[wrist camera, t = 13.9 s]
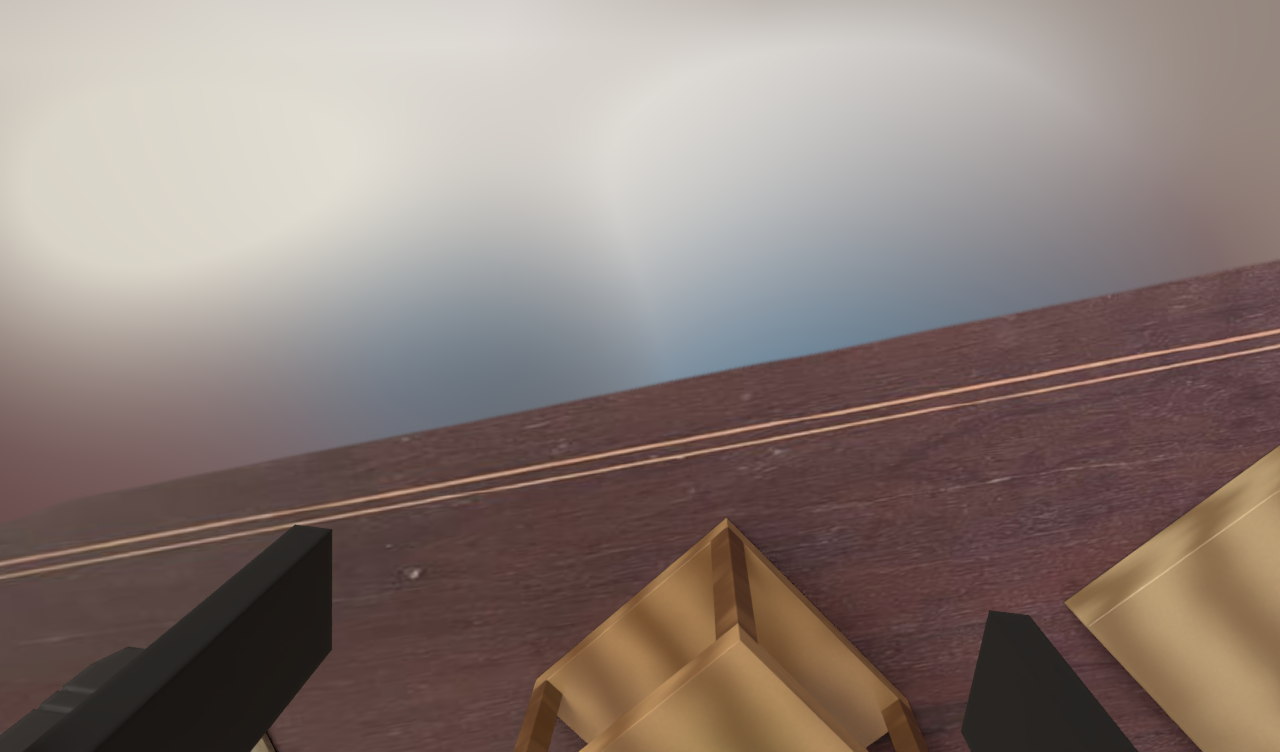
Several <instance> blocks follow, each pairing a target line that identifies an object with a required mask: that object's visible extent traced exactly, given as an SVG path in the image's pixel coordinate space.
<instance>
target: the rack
mask: <svg viewBox="0 0 1280 752" xmlns="http://www.w3.org/2000/svg"><path fill="white" fill-rule="evenodd" d="M557 716H558V717H559V718H560V719H562V720H563V721H564V722H565V723H566V724H567V725H568V726H569V727H570V728H571V729H572V730H573V731H575V732H576V733H577V734H578V735H579V736H580V737H581V738H582V739H583V740H584V741H585V742H586V743H588V745H586V746H585V747H584V748H583V749H581V750H580V751H579V752H869V751H868V750H867V749H865V748H866V747H868V746H869V745H870V744H872V743H873V742H875V741H876V740H877V739H879V738H880V737H881V736H883V735H884V734H886V733H887V732H889V735H890V737H891V740H892V743H893V745H894V748H895V751H896V752H929V750H928V748H927V745H926V743H925V741H924V738H923V736H922V734H921V731H920V729H919V727H918V724H917V722H916V719H915V717H914V715H913V712H912V710H911V708H910V705H909V703H908V701H907V699H906V698H905V697H904V696H903V695H902V694H901V693H900V692H899V691H898V690H897V689H896V688H895V687H894V686H893V685H892V684H891V683H890V682H889V681H888V680H887V679H886V678H885V677H884V676H883V675H882V674H881V673H880V672H879V671H878V670H877V669H876V668H875V667H874V666H873V665H872V664H871V663H870V662H869V661H868V660H867V659H866V658H865V657H864V656H863V655H862V654H861V653H860V652H859V650H858V649H857V648H856V647H855V646H854V645H853V644H852V643H851V642H850V641H849V640H848V639H847V638H846V637H845V636H844V635H843V634H842V633H841V632H840V631H839V630H838V629H837V628H836V627H835V626H834V625H833V624H832V623H831V622H830V621H829V620H828V619H827V618H826V617H825V616H824V615H823V614H822V613H821V612H820V611H819V610H818V609H817V608H816V607H815V606H814V605H813V604H812V603H811V602H810V601H809V600H808V599H807V598H806V597H805V596H804V595H803V594H802V593H801V592H800V591H799V590H798V589H797V588H796V587H795V586H794V585H793V584H792V583H791V582H790V581H789V580H788V579H787V578H786V577H785V576H784V575H783V574H782V573H781V572H780V571H779V570H778V569H777V568H776V567H775V566H774V565H773V564H772V563H771V562H770V561H769V560H768V559H767V558H766V557H765V556H764V555H763V554H762V553H761V552H760V551H759V550H758V549H757V548H756V547H755V546H754V545H753V544H752V543H751V542H750V541H749V540H748V539H747V538H746V537H745V536H744V535H743V534H742V533H741V532H740V531H739V530H738V529H737V528H736V527H735V526H734V525H733V524H732V523H731V522H730V521H729V520H728V519H727V518H726V519H725V520H723V521H722V522H721V523H720V524H719V525H718V526H716V527H715V528H714V529H713V530H712V531H711V532H709V533H708V534H707V535H706V536H705V537H703V538H702V539H701V540H700V541H699V542H698V543H696V544H695V545H694V546H693V547H692V548H691V549H689V550H688V551H687V552H686V553H685V554H683V555H682V556H681V557H680V558H679V559H678V560H676V561H675V562H674V563H673V564H672V565H671V566H669V567H668V568H667V569H666V570H665V571H663V572H662V573H661V574H660V575H659V576H658V577H656V578H655V579H654V580H653V581H652V582H651V583H649V584H648V585H647V586H646V587H645V588H643V589H642V590H641V591H640V592H639V593H638V594H636V595H635V596H634V597H633V598H632V599H631V600H629V601H628V602H627V603H626V604H625V605H623V606H622V607H621V608H620V609H619V610H618V611H616V612H615V613H614V614H613V615H612V616H611V617H609V618H608V619H607V620H606V621H605V622H603V623H602V624H601V625H600V626H599V627H598V628H596V629H595V630H594V631H593V632H592V633H591V634H589V635H588V636H587V637H586V638H585V639H583V640H582V641H581V642H580V643H579V644H578V645H576V646H575V647H574V648H573V649H572V650H571V651H569V652H568V653H567V654H566V655H565V656H563V657H562V658H561V659H560V660H559V661H558V662H556V663H555V664H554V665H553V666H552V667H551V668H549V669H548V670H547V671H546V672H545V673H543V674H542V675H541V676H540V677H539V678H538V679H537V680H536V683H535V686H534V689H533V692H532V695H531V699H530V702H529V705H528V708H527V711H526V714H525V717H524V720H523V724H522V727H521V730H520V733H519V736H518V739H517V742H516V746H515V749H514V752H548V749H549V745H550V741H551V737H552V733H553V729H554V726H555V722H556V718H557Z"/></svg>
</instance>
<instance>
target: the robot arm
mask: <svg viewBox="0 0 1280 752" xmlns="http://www.w3.org/2000/svg"><path fill="white" fill-rule="evenodd" d="M331 650H332V529H325V528H317V527H309V526H301V525H294V526H293V527H292V528H291V529H289V530H288V531H287V532H286V533H285V534H283V535H282V536H281V537H280V538H279V539H277V540H276V541H275V542H274V543H273V544H271V545H270V546H269V547H268V548H267V549H265V550H264V551H263V552H262V553H261V554H259V555H258V556H257V557H256V558H255V559H253V560H252V561H251V562H250V563H249V564H247V565H246V566H245V567H244V568H243V569H241V570H240V571H239V572H238V573H237V574H235V575H234V576H233V577H232V578H231V579H229V580H228V581H227V582H226V583H225V584H223V585H222V586H221V587H220V588H219V589H217V590H216V591H215V592H214V593H213V594H211V595H210V596H209V597H208V598H207V599H205V600H204V601H203V602H202V603H201V604H199V605H198V606H197V607H196V608H195V609H193V610H192V611H191V612H190V613H188V614H187V615H186V616H185V617H184V618H182V619H181V620H180V621H179V622H178V623H176V624H175V625H174V626H173V627H172V628H170V629H169V630H168V631H167V632H166V633H164V634H163V635H162V636H161V637H160V638H158V639H157V640H156V641H155V642H154V643H152V644H151V645H150V646H149V647H148V648H146V649H141V648H134V647H126V648H124V649H122V650H120V651H118V652H116V653H114V654H112V655H110V656H108V657H105V658H103V659H101V660H99V661H97V662H95V663H93V664H91V665H90V666H88V667H87V668H86V669H85V670H83V671H82V672H81V673H80V674H78V675H77V676H76V677H74V678H73V679H72V680H71V681H69V682H68V683H67V684H65V685H64V686H63V689H62V691H57V692H55V693H54V694H53V695H51V696H50V697H49V698H48V699H46V700H45V701H44V702H42V703H41V704H40V707H39V709H38V710H36V709H33V710H32V711H31V712H30V713H28V714H27V715H26V716H25V717H23V718H22V719H21V720H19V721H18V722H17V723H16V724H14V725H13V726H12V727H10V728H9V729H8V730H7V731H5V732H4V733H3V734H2V735H0V752H251V751H252V749H253V748H254V747H255V746H256V744H257V743H258V742H259V741H260V739H261V738H262V737H263V736H264V734H265V733H266V732H267V731H268V729H269V728H270V727H271V725H272V724H273V723H274V722H275V720H276V719H277V718H278V717H279V715H280V714H281V713H282V712H283V710H284V709H285V708H286V707H287V705H288V704H289V703H290V701H291V700H292V699H293V698H294V696H295V695H296V694H297V693H298V691H299V690H300V689H301V688H302V686H303V685H304V684H305V683H306V681H307V680H308V679H309V678H310V676H311V675H312V674H313V672H314V671H315V670H316V669H317V667H318V666H319V665H320V664H321V662H322V661H323V660H324V659H325V657H326V656H327V655H328V654H329V652H330V651H331ZM961 732H962V734H963V736H964V738H965V740H966V742H967V744H968V746H969V748H970V750H971V752H1138V751H1137V749H1136V748H1135V747H1134V746H1133V744H1132V743H1131V742H1130V741H1129V740H1128V738H1127V737H1126V736H1125V735H1124V733H1123V732H1122V731H1121V730H1120V728H1119V727H1118V726H1117V725H1116V723H1115V722H1114V721H1113V720H1112V718H1111V717H1110V716H1109V715H1108V713H1107V712H1106V711H1105V710H1104V708H1103V707H1102V706H1101V705H1100V703H1099V702H1098V701H1097V700H1096V698H1095V697H1094V696H1093V695H1092V693H1091V692H1090V691H1089V690H1088V688H1087V687H1086V686H1085V685H1084V683H1083V682H1082V681H1081V680H1080V678H1079V677H1078V676H1077V675H1076V673H1075V672H1074V671H1073V670H1072V668H1071V667H1070V666H1069V665H1068V663H1067V662H1066V661H1065V660H1064V658H1063V657H1062V656H1061V655H1060V653H1059V652H1058V651H1057V650H1056V648H1055V647H1054V646H1053V645H1052V643H1051V642H1050V641H1049V640H1048V638H1047V637H1046V636H1045V635H1044V633H1043V632H1042V631H1041V630H1040V628H1039V627H1038V626H1037V625H1036V623H1035V622H1034V621H1033V620H1032V618H1031V617H1030V616H1029V615H1023V614H1014V613H1006V612H998V611H990V610H989V614H988V618H987V622H986V626H985V631H984V635H983V639H982V644H981V648H980V652H979V656H978V661H977V665H976V669H975V674H974V678H973V682H972V686H971V691H970V695H969V699H968V704H967V708H966V712H965V716H964V721H963V725H962V729H961Z"/></svg>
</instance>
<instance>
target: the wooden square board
mask: <svg viewBox="0 0 1280 752" xmlns="http://www.w3.org/2000/svg"><path fill="white" fill-rule="evenodd" d="M1064 603H1065V604H1066V606H1067V607H1068V608H1069V609H1070V610H1071V611H1072V612H1073V613H1074V614H1075V615H1076V617H1077V618H1078V619H1079V620H1080V621H1081V622H1082V623H1083V624H1084V625H1085V626H1086V627H1087V629H1088V630H1089V631H1090V632H1091V633H1092V634H1093V635H1094V636H1095V637H1096V638H1097V639H1098V640H1099V641H1100V642H1101V644H1102V645H1103V646H1104V647H1105V648H1106V649H1107V650H1108V651H1109V652H1110V653H1111V654H1112V655H1113V656H1114V657H1115V659H1116V660H1117V661H1118V662H1119V663H1120V664H1121V665H1122V666H1123V667H1124V668H1125V669H1126V670H1127V671H1128V672H1129V673H1130V675H1131V676H1132V677H1133V678H1134V679H1135V680H1136V681H1137V682H1138V683H1139V684H1140V685H1141V686H1142V687H1143V688H1144V690H1145V691H1146V692H1147V693H1148V694H1149V695H1150V696H1151V697H1152V698H1153V699H1154V700H1155V701H1156V702H1157V703H1158V705H1159V706H1160V707H1161V708H1162V709H1163V710H1164V711H1165V712H1166V713H1167V714H1168V715H1169V716H1170V717H1171V718H1172V720H1173V721H1174V722H1175V723H1176V724H1177V725H1178V726H1179V727H1180V728H1181V729H1182V730H1183V731H1184V732H1185V733H1186V734H1187V736H1188V737H1189V738H1190V739H1191V740H1192V741H1193V742H1194V743H1195V744H1196V745H1197V746H1198V747H1199V748H1200V749H1201V751H1202V752H1280V445H1279V446H1278V447H1277V448H1275V449H1274V450H1273V451H1271V452H1270V453H1269V454H1267V455H1266V456H1264V457H1263V458H1262V459H1260V460H1259V461H1258V462H1256V463H1255V464H1253V465H1252V466H1251V467H1249V468H1248V469H1247V470H1245V471H1244V472H1242V473H1241V474H1240V475H1238V476H1237V477H1236V478H1234V479H1233V480H1231V481H1230V482H1229V483H1227V484H1226V485H1225V486H1223V487H1222V488H1220V489H1219V490H1218V491H1216V492H1215V493H1214V494H1212V495H1211V496H1209V497H1208V498H1207V499H1205V500H1204V501H1203V502H1201V503H1200V504H1198V505H1197V506H1196V507H1194V508H1193V509H1192V510H1190V511H1189V512H1187V513H1186V514H1185V515H1183V516H1182V517H1181V518H1179V519H1178V520H1176V521H1175V522H1174V523H1172V524H1171V525H1170V526H1168V527H1167V528H1165V529H1164V530H1163V531H1161V532H1160V533H1159V534H1157V535H1156V536H1155V537H1153V538H1152V539H1150V540H1149V541H1148V542H1146V543H1145V544H1144V545H1142V546H1141V547H1139V548H1138V549H1137V550H1135V551H1134V552H1133V553H1131V554H1130V555H1128V556H1127V557H1126V558H1124V559H1123V560H1122V561H1120V562H1119V563H1117V564H1116V565H1115V566H1113V567H1112V568H1111V569H1109V570H1108V571H1106V572H1105V573H1104V574H1102V575H1101V576H1100V577H1098V578H1097V579H1095V580H1094V581H1093V582H1091V583H1090V584H1089V585H1087V586H1086V587H1084V588H1083V589H1082V590H1080V591H1079V592H1078V593H1076V594H1075V595H1073V596H1072V597H1071V598H1069V599H1068V600H1067V601H1065V602H1064Z"/></svg>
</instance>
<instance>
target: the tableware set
mask: <svg viewBox="0 0 1280 752" xmlns="http://www.w3.org/2000/svg"><path fill="white" fill-rule="evenodd" d="M251 752H275V750H274V748H273V746H272V744H271V742H270V740H269V738H268V736H267V734H266V733H265V734H264V736H263V737H262V738H261V739H260V741H259V742H258V743H257V744H256V746H255V747H254V748H253V749H252V751H251Z"/></svg>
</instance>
